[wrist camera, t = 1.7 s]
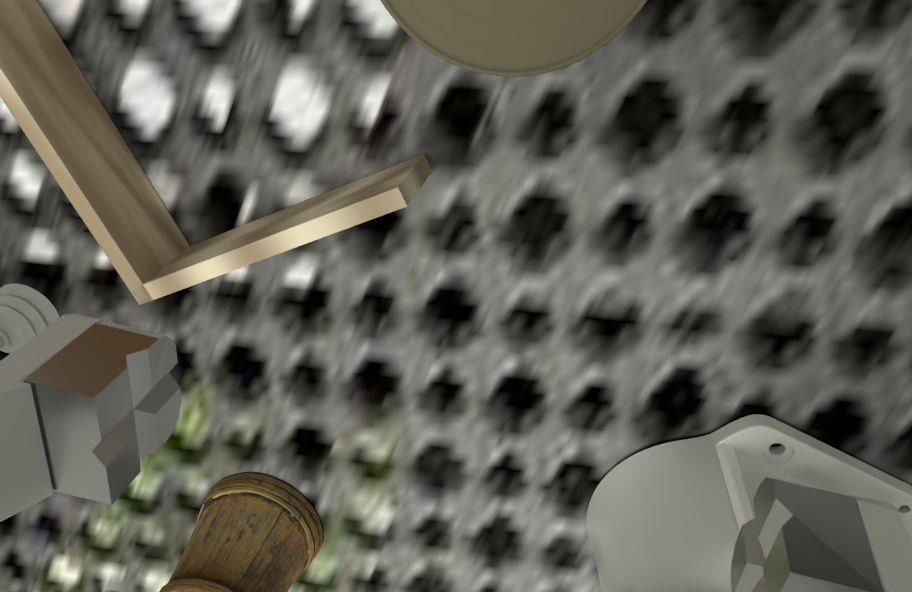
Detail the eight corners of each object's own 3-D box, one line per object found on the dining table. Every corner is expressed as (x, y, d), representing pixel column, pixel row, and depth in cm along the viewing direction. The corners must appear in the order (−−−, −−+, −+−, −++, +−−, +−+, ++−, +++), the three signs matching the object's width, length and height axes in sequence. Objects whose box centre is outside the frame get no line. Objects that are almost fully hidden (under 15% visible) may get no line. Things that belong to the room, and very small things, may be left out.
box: (248, -221, 33) (190, -236, 29) (432, 171, 40) (407, 206, 36) (-12, -49, 40) (-91, -40, 35) (186, 265, 46) (139, 305, 42)
